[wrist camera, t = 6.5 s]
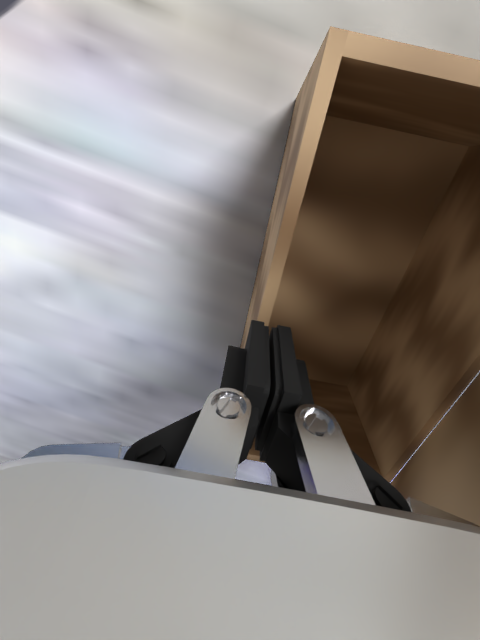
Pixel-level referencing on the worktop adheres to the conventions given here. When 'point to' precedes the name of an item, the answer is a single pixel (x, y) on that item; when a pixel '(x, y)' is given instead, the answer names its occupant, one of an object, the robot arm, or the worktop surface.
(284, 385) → the robot arm
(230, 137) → the worktop surface
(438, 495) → the lid flap
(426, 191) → the open wooden box
